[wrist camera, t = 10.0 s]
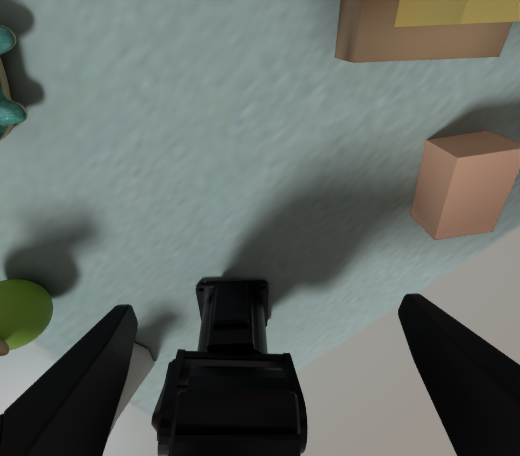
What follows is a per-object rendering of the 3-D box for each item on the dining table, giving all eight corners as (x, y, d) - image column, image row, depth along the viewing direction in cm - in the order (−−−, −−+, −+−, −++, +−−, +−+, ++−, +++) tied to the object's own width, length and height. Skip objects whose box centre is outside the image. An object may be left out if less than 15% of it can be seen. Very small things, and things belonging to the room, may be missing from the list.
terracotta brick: (460, 205, 22) (492, 231, 19) (409, 213, 22) (434, 240, 19) (484, 129, 19) (529, 147, 16) (424, 139, 19) (457, 158, 16)
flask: (128, 329, 28) (83, 449, 20) (166, 363, 32) (141, 474, 24) (69, 346, 29) (4, 467, 21) (113, 377, 33) (72, 488, 25)
